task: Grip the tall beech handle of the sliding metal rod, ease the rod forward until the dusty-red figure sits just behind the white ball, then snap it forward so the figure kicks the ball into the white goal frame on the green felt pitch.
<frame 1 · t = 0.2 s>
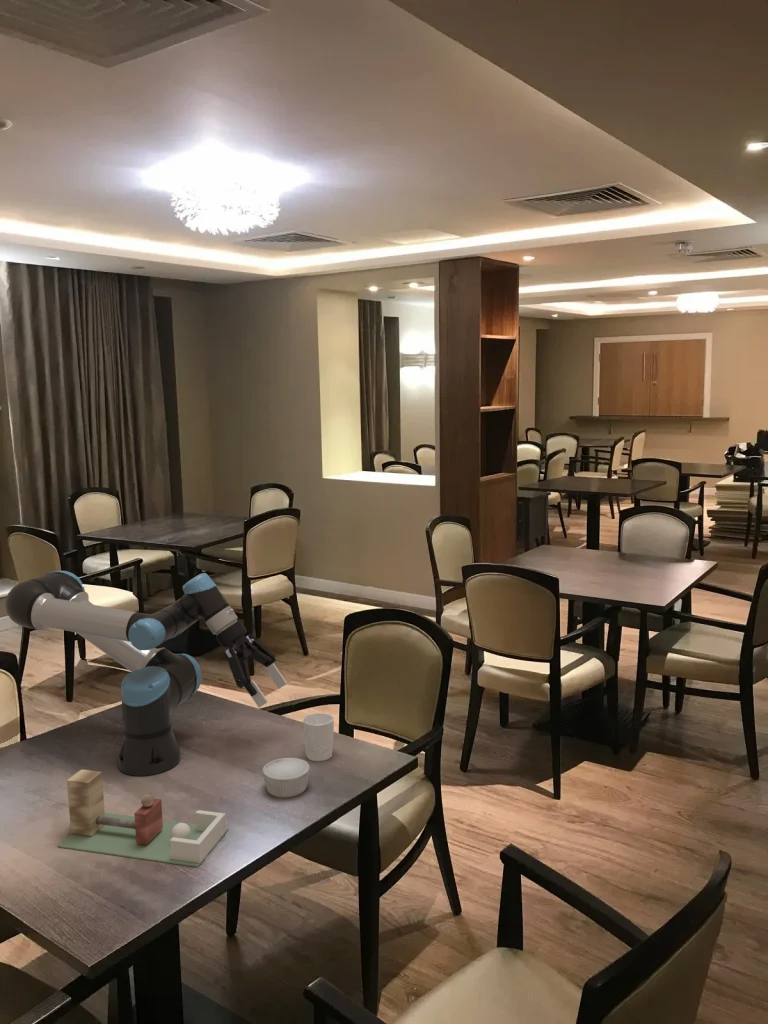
hand: (273, 695, 206), 15 cm above the table, fingers open, 13 cm apart
white cup: (319, 756, 205), on the table
ball: (180, 833, 165), point 2 cm above the table, touching pitch
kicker: (114, 805, 168), point 6 cm above the table, slide at 0.0 cm
pitch: (144, 838, 168), on the table
goal: (203, 846, 164), resting on pitch
ramekin: (286, 789, 188), on the table
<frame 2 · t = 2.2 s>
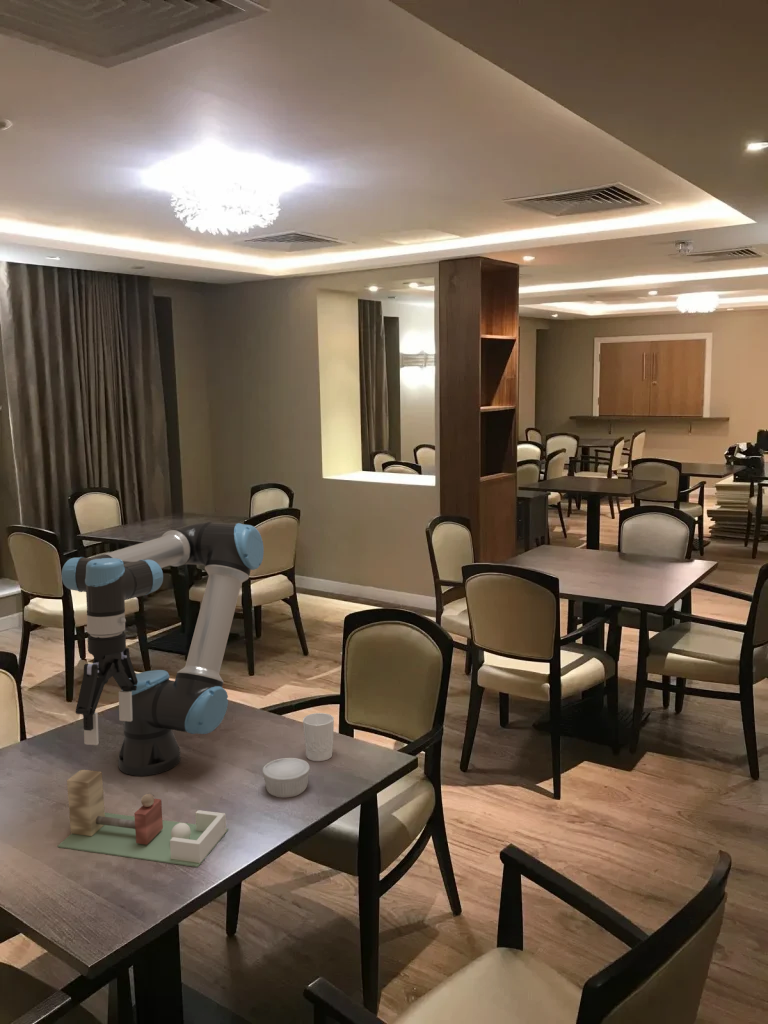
hand: (109, 732, 168), 22 cm above the table, fingers open, 13 cm apart
nothing on the table moved.
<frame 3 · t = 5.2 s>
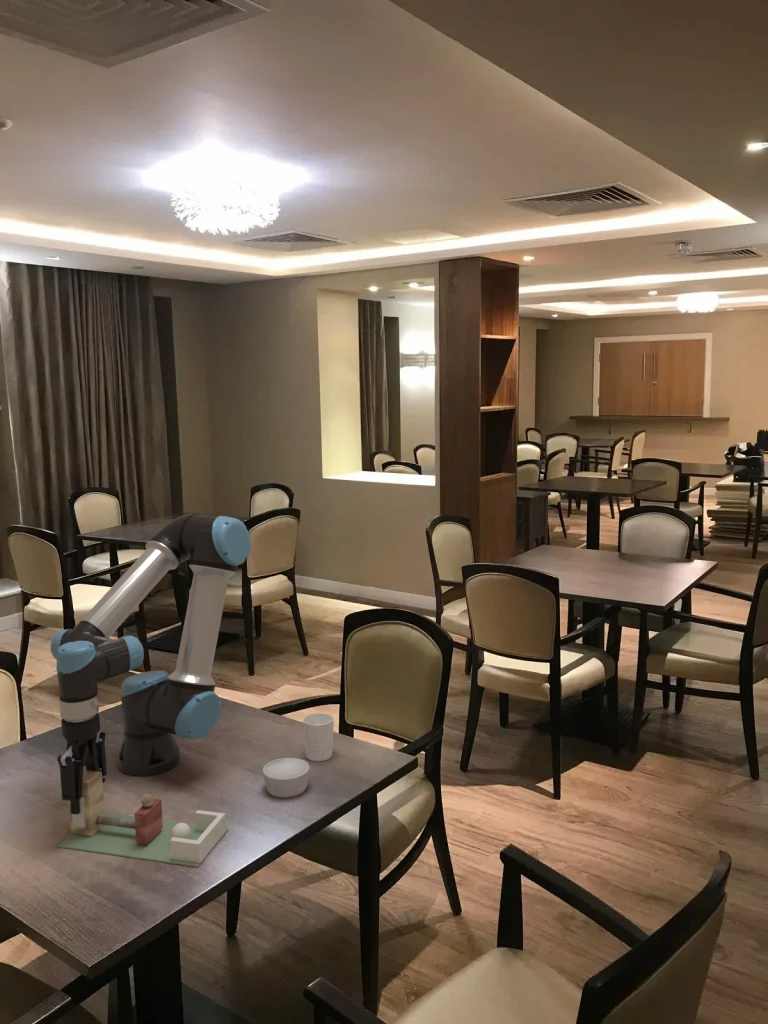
hand: (87, 818, 171), 3 cm above the table, fingers closed on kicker, 5 cm apart
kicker: (114, 805, 168), point 6 cm above the table, slide at 0.0 cm, touching gripper
everything else where it was.
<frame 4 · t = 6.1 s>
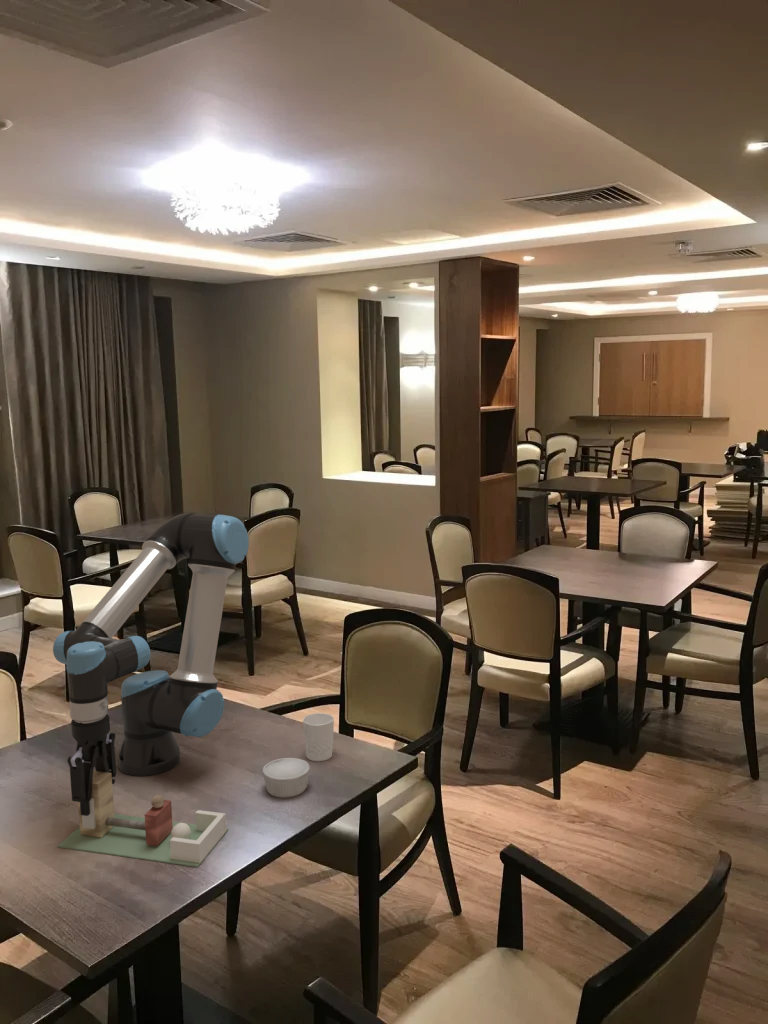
hand: (97, 820, 170), 3 cm above the table, fingers closed on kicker, 5 cm apart
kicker: (124, 807, 168), point 6 cm above the table, slide at 2.3 cm, touching gripper
everything else where it was.
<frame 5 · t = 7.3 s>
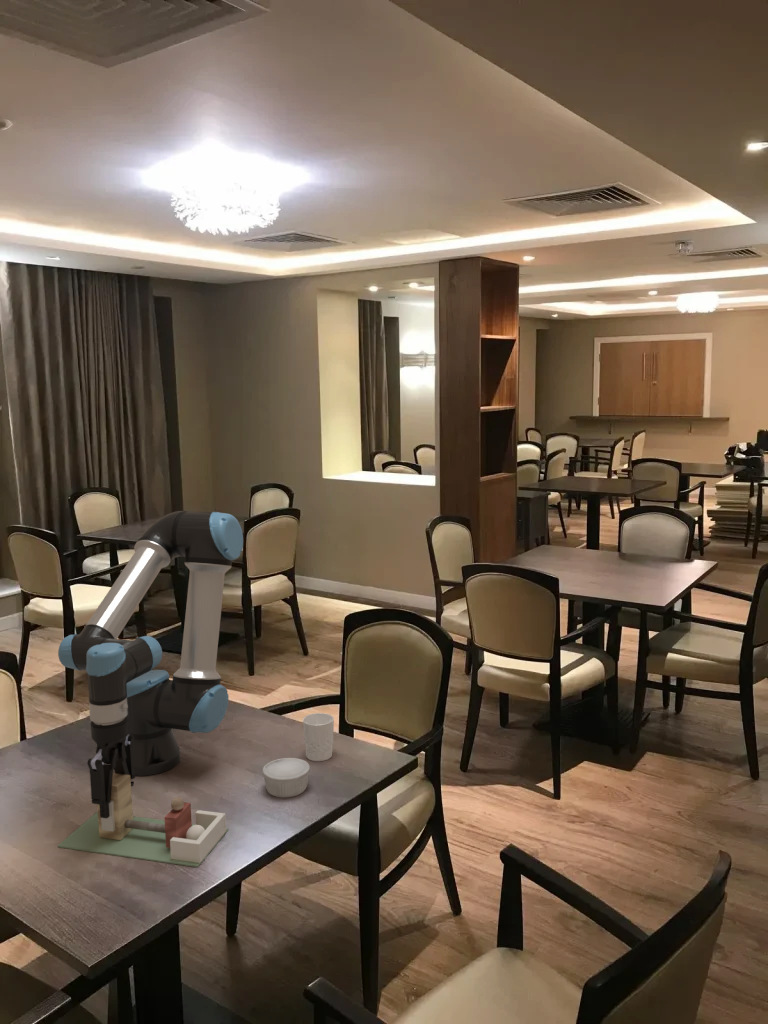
hand: (116, 822, 169), 3 cm above the table, fingers closed on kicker, 5 cm apart
ball: (196, 835, 165), point 2 cm above the table, tilted 88°, touching pitch
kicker: (143, 809, 167), point 6 cm above the table, slide at 6.8 cm, touching gripper
everything else where it was.
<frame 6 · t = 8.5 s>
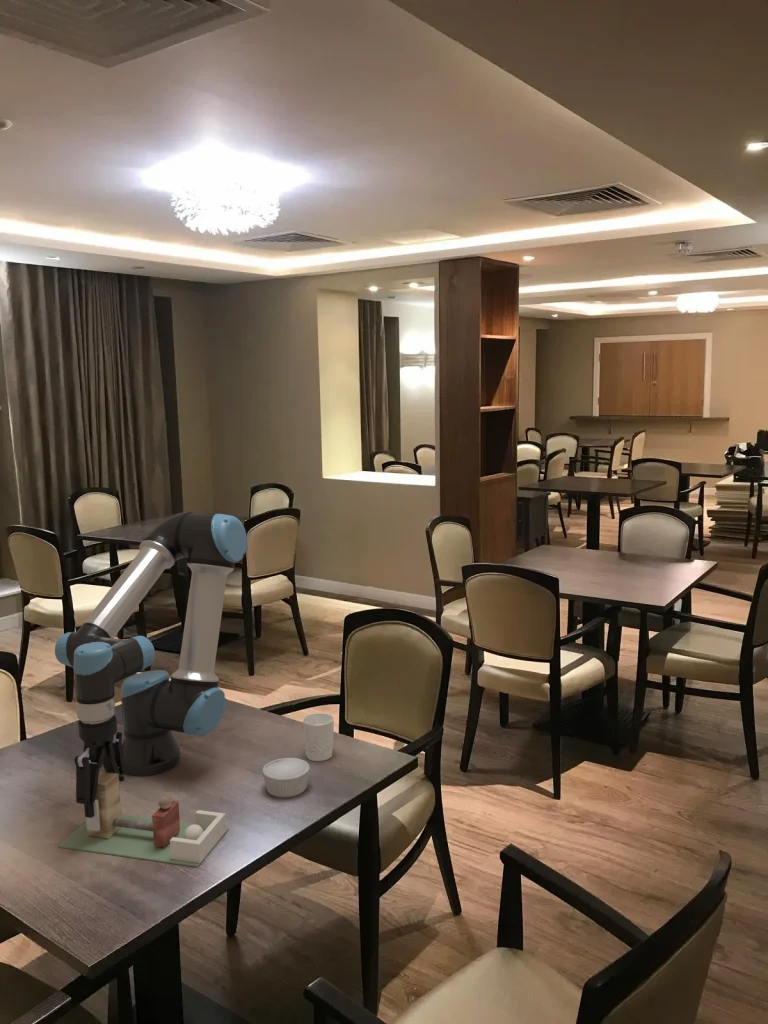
hand: (104, 819, 170), 3 cm above the table, fingers open, 7 cm apart
ball: (193, 834, 165), point 2 cm above the table, tilted 74°, touching pitch
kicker: (131, 808, 167), point 6 cm above the table, slide at 4.1 cm
everything else where it was.
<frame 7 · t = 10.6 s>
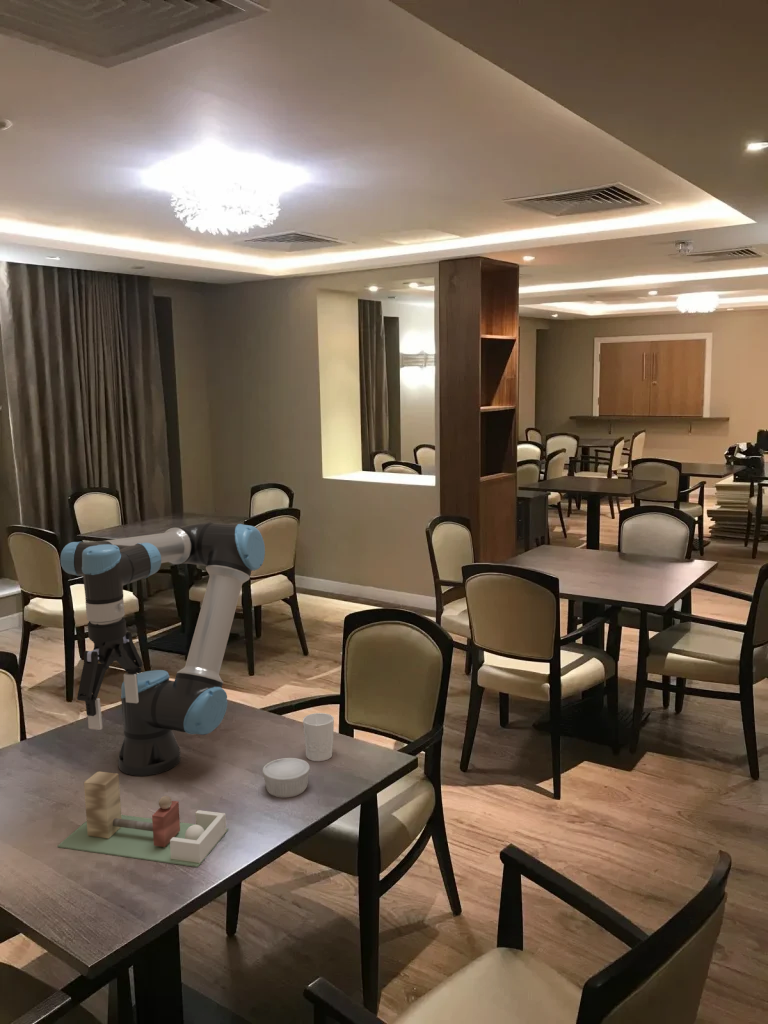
hand: (114, 715, 170), 25 cm above the table, fingers open, 13 cm apart
ball: (195, 835, 165), point 2 cm above the table, tilted 81°, touching pitch
everything else where it was.
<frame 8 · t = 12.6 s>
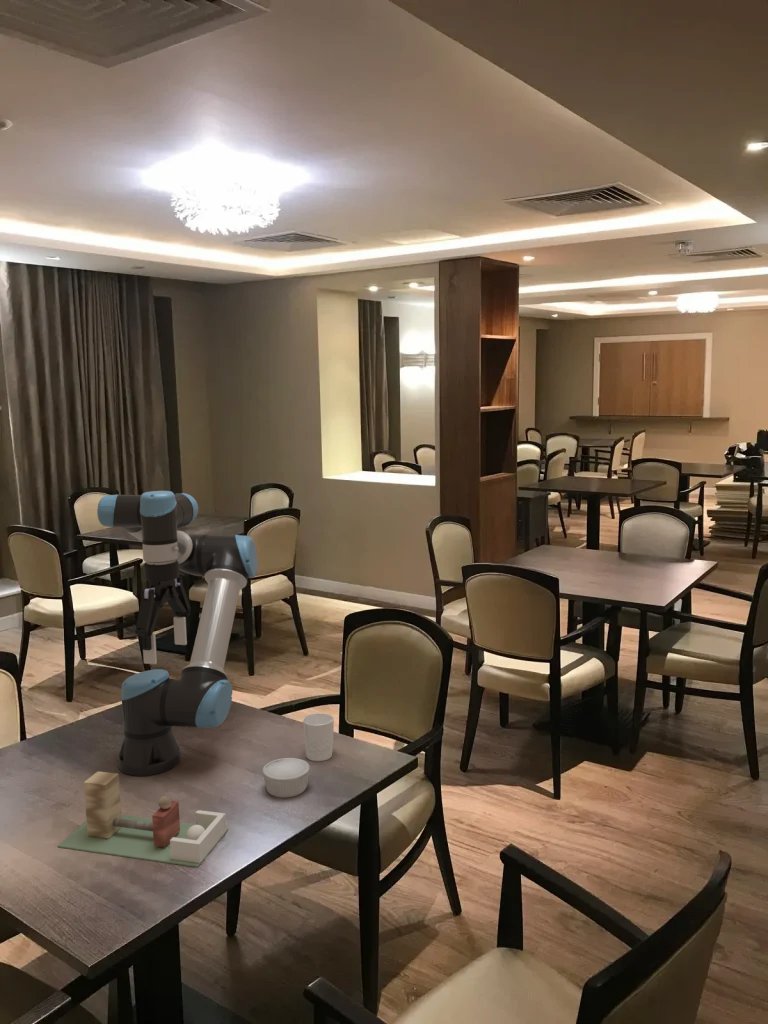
hand: (166, 653, 180), 35 cm above the table, fingers open, 13 cm apart
ball: (196, 835, 165), point 2 cm above the table, tilted 88°, touching pitch
everything else where it was.
at the end: ball inside the target area (0.8 cm from its centre), point 2.3 cm above the table; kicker slide at 4.1 cm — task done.
